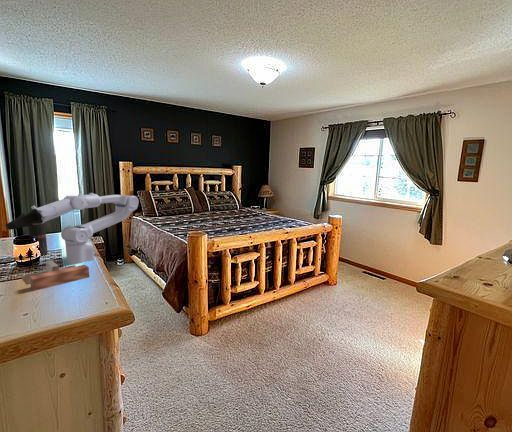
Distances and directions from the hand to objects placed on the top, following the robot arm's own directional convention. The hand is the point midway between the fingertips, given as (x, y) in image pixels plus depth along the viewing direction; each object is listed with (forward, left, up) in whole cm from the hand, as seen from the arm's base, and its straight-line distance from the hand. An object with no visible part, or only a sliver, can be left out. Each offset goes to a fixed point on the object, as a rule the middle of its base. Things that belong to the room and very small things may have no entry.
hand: (11, 225), depth 96 cm
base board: (-9, +5, -20) cm, 22 cm away
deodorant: (-12, -30, -20) cm, 38 cm away
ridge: (-9, +5, -19) cm, 22 cm away
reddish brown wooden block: (-9, +16, -20) cm, 28 cm away
